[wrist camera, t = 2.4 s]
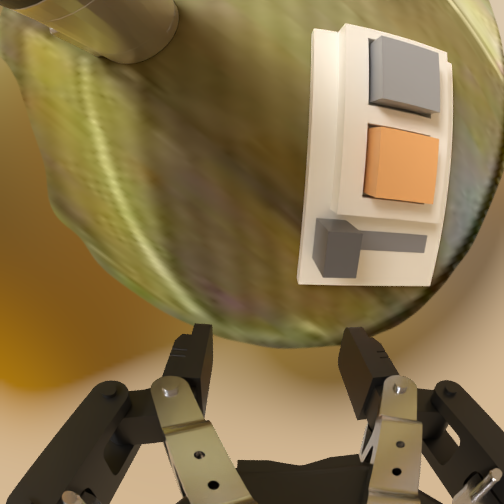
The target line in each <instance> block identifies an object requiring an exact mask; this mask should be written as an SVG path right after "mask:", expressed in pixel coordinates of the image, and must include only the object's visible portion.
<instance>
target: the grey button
mask: <svg viewBox="0 0 504 504" xmlns="http://www.w3.org/2000/svg"><path fill="white" fill-rule="evenodd" d="M369 103H373V104H378V105H383V106H388V107H392V108H397V109H401V110H406V111H410V112H414V113H418V114H422V115H425V114H432V113H440V70H439V53H437V52H434V51H431V50H428V49H425V48H422V47H419V46H416V45H413V44H410V43H407V42H403V41H400V40H396V39H393V38H389V37H385V36H382V35H381V36H380V37H379V38H377V39H376V40H375V41H374V42H372V43H371V44H370V45H369Z"/></svg>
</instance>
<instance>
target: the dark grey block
mask: <svg viewBox="0 0 504 504" xmlns="http://www.w3.org/2000/svg"><path fill="white" fill-rule="evenodd" d="M362 237H363V233H362V232H361V231H359V230H358V229H357V228H355V227H354V226H353V225H352V224H350V223H349V222H348V221H346V220H338V219H323V218H316V225H315V235H314V245H313V254H312V259H313V261H314V262H315V264H316V266H317V268H318V270H319V271H320V273H321V275H322V277H323V278H356V275H357V269H358V263H359V257H360V250H361V244H362Z"/></svg>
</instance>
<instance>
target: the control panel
mask: <svg viewBox="0 0 504 504" xmlns="http://www.w3.org/2000/svg"><path fill="white" fill-rule="evenodd" d="M381 35H382V36H385V37H389V38H393V39H396V40H400V41H403V42H407V43H410V44H413V45H416V46H419V47H422V48H425V49H428V50H431V51H434V52H437V53H439V70H440V113H432V114H425V115H422V114H418V113H414V112H410V111H406V110H401V109H397V108H392V107H388V106H383V105H378V104H373V103H369V45H370V44H371V43H372V42H374V41H375V40H376V39H377V38H379V37H380V36H381ZM375 127H386V128H392V129H397V130H402V131H407V132H411V133H416V134H420V135H425V136H429V137H433V138H437V139H439V151H438V164H437V175H436V185H435V193H434V201H433V204H426V203H419V202H411V201H403V200H394V199H385V198H376V197H373V196H371V195H369V194H366V193H364V192H363V185H364V175H365V162H366V148H367V132H368V128H375ZM452 130H453V81H452V64H451V63H449V62H447V52H444V51H441V50H439V49H436V48H433V47H430V46H428V45H425V44H422V43H419V42H416V41H413V40H409V39H406V38H403V37H399V36H396V35H392V34H389V33H385V32H381V31H377V30H373V29H369V28H365V27H360V26H356V25H351V24H346V23H345V24H344V26H343V27H342V28H341V29H340V31H339V32H335V31H329V30H322V29H315V28H314V30H313V32H312V39H311V83H310V109H309V130H308V148H307V164H306V179H305V193H304V206H303V218H302V229H301V241H300V251H299V261H298V271H297V281H298V284H308V285H355V286H430V284H431V280H432V275H433V271H434V267H435V262H436V258H437V253H438V248H439V243H440V238H441V232H442V226H443V220H444V214H445V207H446V200H447V192H448V184H449V174H450V164H451V150H452ZM316 218H323V219H338V220H346V221H348V222H349V223H350V224H352V225H353V226H354V227H355V228H357V229H358V230H359V231H361V232H362V233H363V237H362V244H361V250H360V257H359V263H358V269H357V275H356V278H323V277H322V275H321V273H320V271H319V270H318V268H317V266H316V264H315V262H314V261H313V259H312V254H313V245H314V235H315V225H316Z"/></svg>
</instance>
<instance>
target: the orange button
mask: <svg viewBox="0 0 504 504" xmlns="http://www.w3.org/2000/svg"><path fill="white" fill-rule="evenodd" d="M438 151H439V139H437V138H433V137H429V136H425V135H420V134H416V133H411V132H407V131H402V130H397V129H392V128H386V127H375V128H368V132H367V148H366V162H365V175H364V185H363V192H364V193H366V194H369V195H371V196H373V197H376V198H385V199H394V200H403V201H411V202H419V203H426V204H433V201H434V193H435V185H436V175H437V164H438Z"/></svg>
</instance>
